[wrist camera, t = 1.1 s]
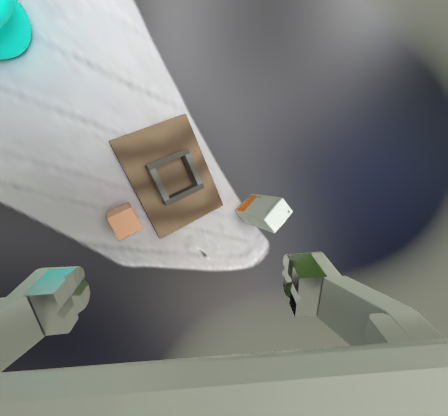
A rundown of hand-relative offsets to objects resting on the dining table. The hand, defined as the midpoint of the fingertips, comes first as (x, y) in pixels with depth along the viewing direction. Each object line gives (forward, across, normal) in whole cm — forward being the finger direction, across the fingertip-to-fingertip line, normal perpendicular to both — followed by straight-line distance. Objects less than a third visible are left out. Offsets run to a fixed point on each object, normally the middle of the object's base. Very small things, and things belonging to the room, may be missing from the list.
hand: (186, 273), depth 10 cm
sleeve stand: (+39, +7, +6) cm, 40 cm away
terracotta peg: (+34, +16, +12) cm, 39 cm away
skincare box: (+44, -9, +16) cm, 47 cm away
